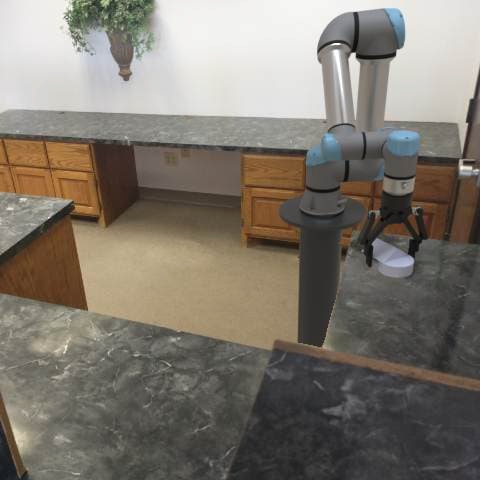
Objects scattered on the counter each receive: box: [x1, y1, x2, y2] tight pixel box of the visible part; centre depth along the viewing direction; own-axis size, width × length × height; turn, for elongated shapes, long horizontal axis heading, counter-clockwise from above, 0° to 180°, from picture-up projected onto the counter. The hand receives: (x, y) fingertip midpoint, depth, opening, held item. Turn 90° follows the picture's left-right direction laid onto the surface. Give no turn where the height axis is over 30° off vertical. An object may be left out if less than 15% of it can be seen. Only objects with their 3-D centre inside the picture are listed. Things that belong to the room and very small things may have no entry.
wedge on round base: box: [361, 237, 415, 279], centre depth 143 cm, size 9×7×13 cm
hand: (389, 263), depth 144 cm, fingers closed on wedge on round base, 11 cm apart
